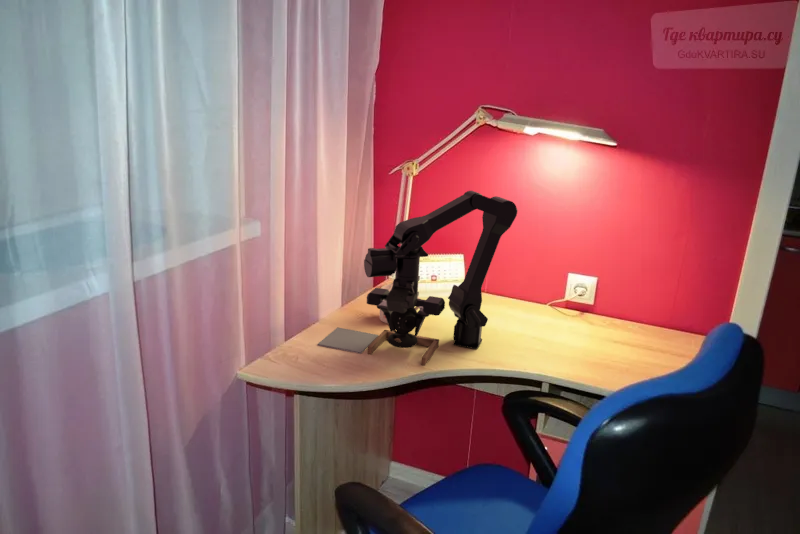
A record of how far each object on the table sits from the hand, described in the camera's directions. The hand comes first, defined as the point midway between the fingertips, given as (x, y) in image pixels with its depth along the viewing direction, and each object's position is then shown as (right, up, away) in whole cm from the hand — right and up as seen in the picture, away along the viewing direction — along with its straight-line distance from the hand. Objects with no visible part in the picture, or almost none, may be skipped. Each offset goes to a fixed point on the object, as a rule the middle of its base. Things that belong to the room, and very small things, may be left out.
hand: (404, 333), depth 150 cm
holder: (0, -5, +1) cm, 5 cm away
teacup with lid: (-1, +1, +22) cm, 22 cm away
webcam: (0, -3, +1) cm, 3 cm away
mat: (-14, -3, +6) cm, 16 cm away
